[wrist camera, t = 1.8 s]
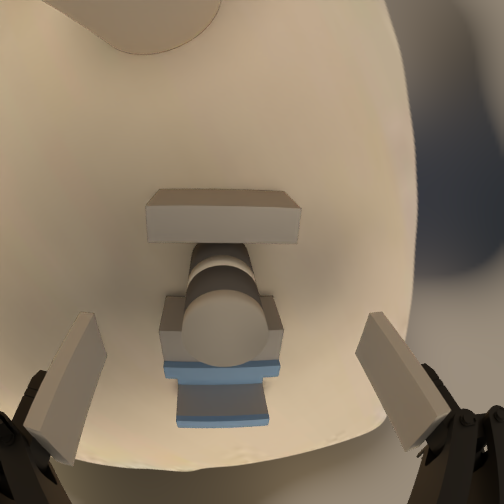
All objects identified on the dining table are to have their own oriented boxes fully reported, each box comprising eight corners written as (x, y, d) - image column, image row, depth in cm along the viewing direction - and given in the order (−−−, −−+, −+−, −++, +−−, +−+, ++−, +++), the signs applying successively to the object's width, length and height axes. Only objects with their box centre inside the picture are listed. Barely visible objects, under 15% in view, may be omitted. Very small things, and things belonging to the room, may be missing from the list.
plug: (192, 284, 20) (185, 366, 13) (190, 233, 19) (178, 302, 12) (247, 285, 21) (264, 365, 14) (250, 233, 19) (272, 301, 12)
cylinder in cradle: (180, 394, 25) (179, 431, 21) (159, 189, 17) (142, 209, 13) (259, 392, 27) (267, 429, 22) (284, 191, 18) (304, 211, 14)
